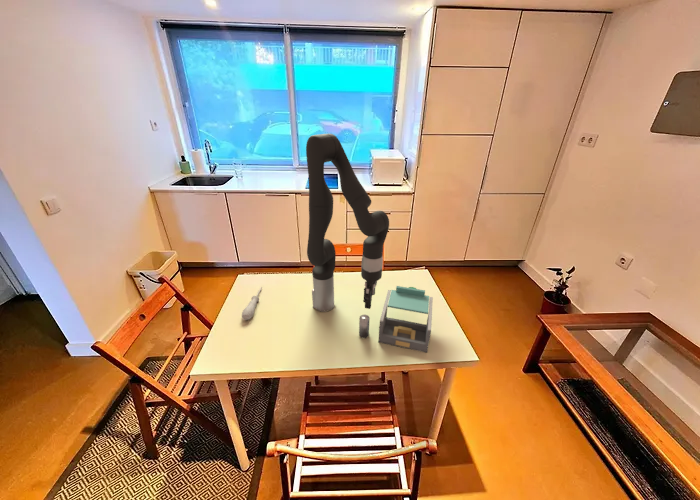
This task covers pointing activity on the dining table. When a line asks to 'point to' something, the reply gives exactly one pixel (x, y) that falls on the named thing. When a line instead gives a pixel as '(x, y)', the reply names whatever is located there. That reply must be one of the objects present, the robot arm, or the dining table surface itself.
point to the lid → (409, 299)
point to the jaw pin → (364, 326)
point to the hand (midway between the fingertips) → (369, 300)
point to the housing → (405, 330)
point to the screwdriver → (250, 307)
